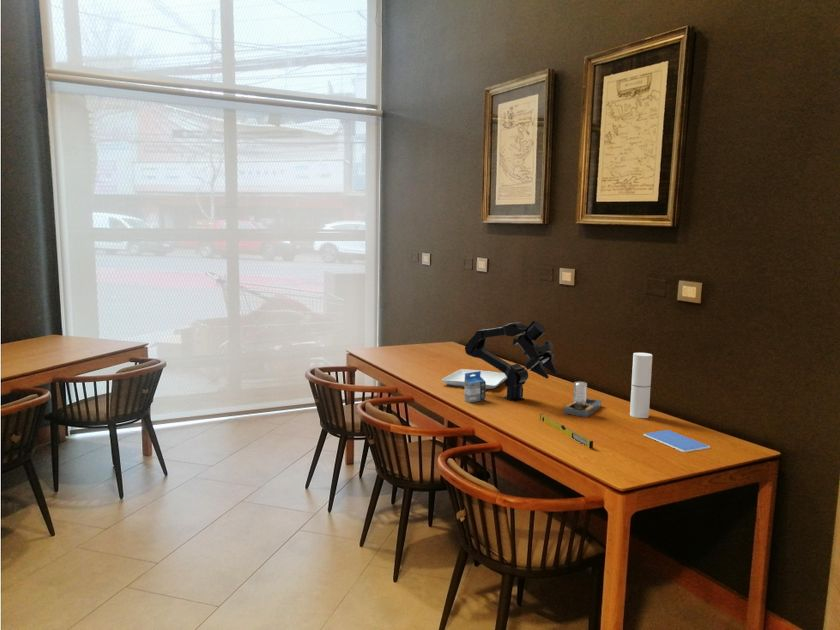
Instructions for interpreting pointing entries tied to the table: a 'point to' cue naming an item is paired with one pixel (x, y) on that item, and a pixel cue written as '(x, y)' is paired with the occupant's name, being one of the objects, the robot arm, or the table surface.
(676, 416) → the table surface
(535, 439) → the table surface
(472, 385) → the label tape box
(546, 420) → the spirit level
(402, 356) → the table surface
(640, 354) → the cylindrical container
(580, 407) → the steel peg
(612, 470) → the table surface
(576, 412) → the grey flat frame
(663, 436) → the tablet computer
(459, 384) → the square plate
